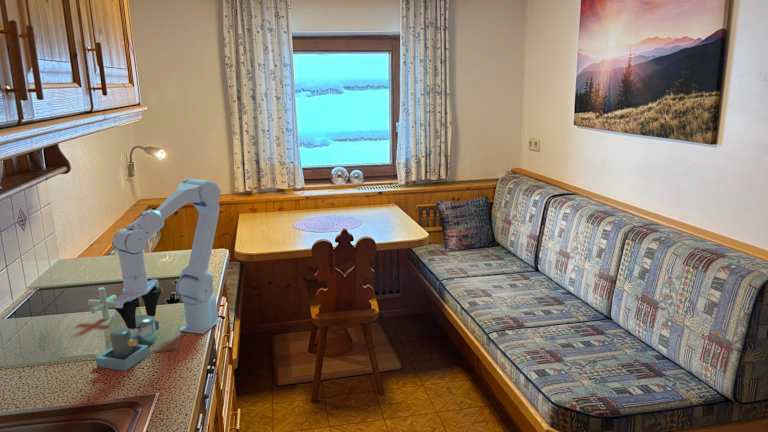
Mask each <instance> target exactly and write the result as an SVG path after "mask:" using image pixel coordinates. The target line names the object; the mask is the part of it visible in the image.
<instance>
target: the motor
mask: <svg viewBox="0 0 768 432" xmlns="http://www.w3.org/2000/svg"><path fill="white" fill-rule="evenodd" d="M135 320H136V328H135V329H129V330H130V332H131V339H137V344H140V345H147V346H149V345H150V346H152V345H153V343H154V342H155V341H156V340H158V338H157V331H158V330H159V329H160V323H159V320H155V316H154V317H153V316H147V314H141V315H140V314H139V315H135ZM156 342H157V341H156ZM156 342H155V343H156ZM155 343H154V344H155ZM151 344H152V345H151ZM150 346H149V347H150Z"/></svg>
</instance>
